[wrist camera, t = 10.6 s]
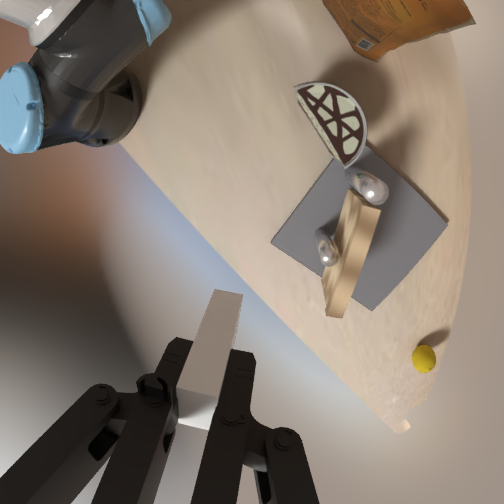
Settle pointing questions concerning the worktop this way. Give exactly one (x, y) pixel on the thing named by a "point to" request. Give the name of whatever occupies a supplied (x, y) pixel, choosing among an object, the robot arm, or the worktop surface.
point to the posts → (369, 190)
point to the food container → (334, 119)
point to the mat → (385, 235)
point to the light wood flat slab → (349, 251)
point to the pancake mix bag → (395, 22)
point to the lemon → (424, 358)
